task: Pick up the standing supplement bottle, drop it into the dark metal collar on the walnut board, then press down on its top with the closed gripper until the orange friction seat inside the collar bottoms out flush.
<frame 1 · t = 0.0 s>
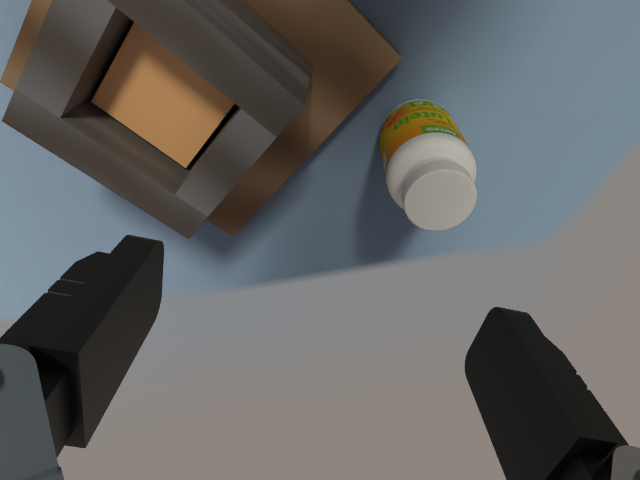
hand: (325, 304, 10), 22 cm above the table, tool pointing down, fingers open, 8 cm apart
press seat: (170, 93, 23), point 6 cm above the table, slide at 4.0 cm
supplement bottle: (414, 132, 31), on the table
collar block: (200, 64, 28), on the table
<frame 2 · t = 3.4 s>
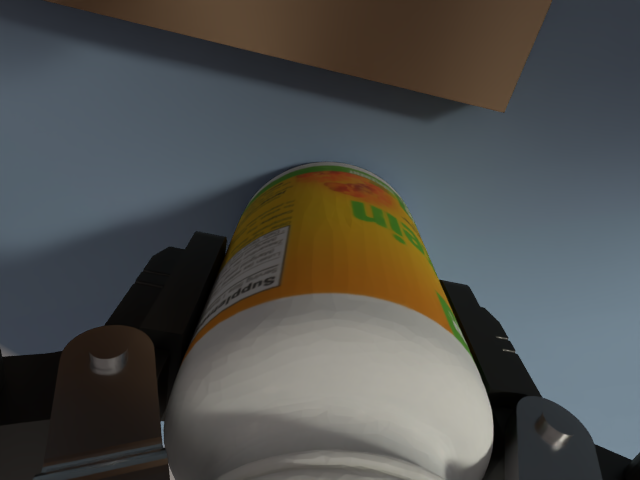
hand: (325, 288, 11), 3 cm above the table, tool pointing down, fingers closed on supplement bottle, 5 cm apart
supplement bottle: (326, 238, 13), on the table, touching gripper
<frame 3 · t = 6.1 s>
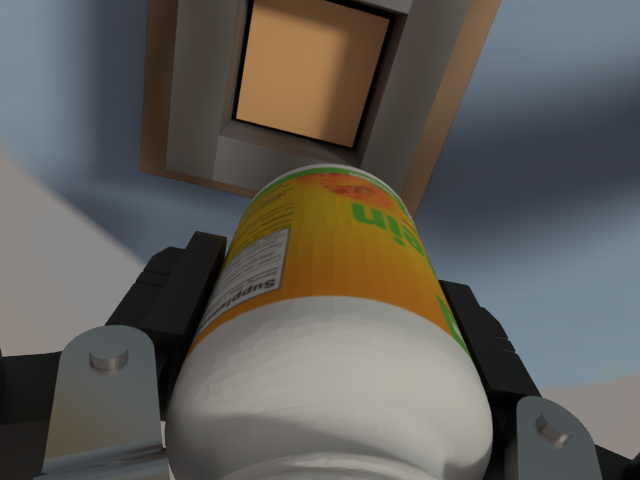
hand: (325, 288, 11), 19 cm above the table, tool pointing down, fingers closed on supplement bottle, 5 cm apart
press seat: (309, 69, 20), point 6 cm above the table, slide at 4.0 cm
supplement bottle: (326, 239, 13), point 17 cm above the table, touching gripper
collar block: (311, 57, 26), on the table
when the fingers open (11 cm above the table, at t = 8.9 s): supplement bottle drops 5 cm, resting on press seat.
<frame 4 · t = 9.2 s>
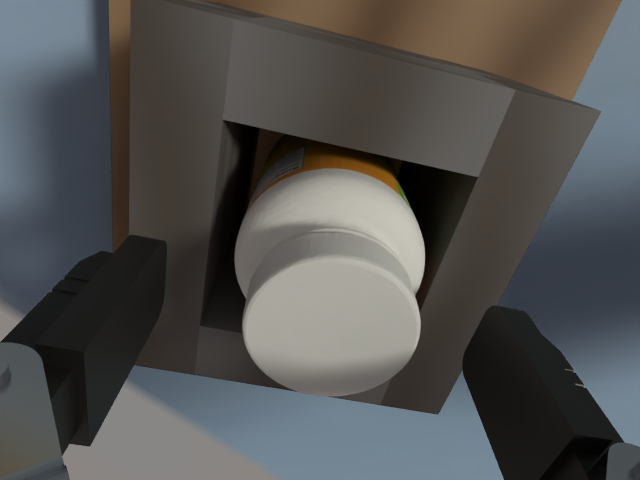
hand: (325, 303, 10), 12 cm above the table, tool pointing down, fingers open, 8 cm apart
press seat: (324, 173, 18), point 2 cm above the table, slide at -0.1 cm, touching supplement bottle, collar block
supplement bottle: (327, 178, 18), point 3 cm above the table, touching press seat
collar block: (324, 158, 20), on the table
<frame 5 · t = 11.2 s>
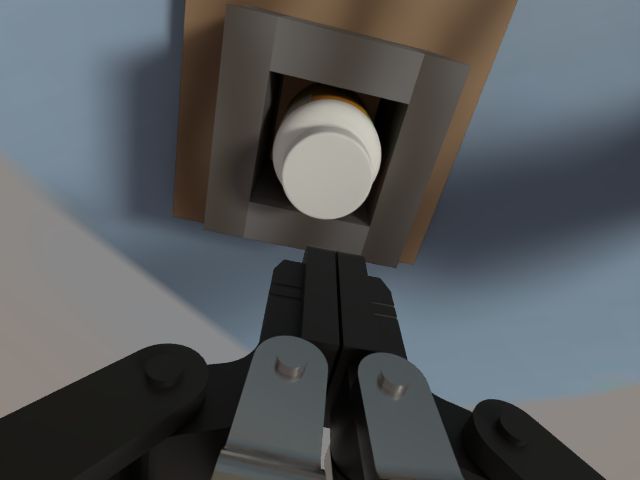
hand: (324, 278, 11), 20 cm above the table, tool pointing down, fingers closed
press seat: (324, 122, 27), point 2 cm above the table, slide at -0.1 cm, touching supplement bottle, collar block
supplement bottle: (326, 124, 26), point 3 cm above the table, touching press seat
collar block: (324, 114, 29), on the table
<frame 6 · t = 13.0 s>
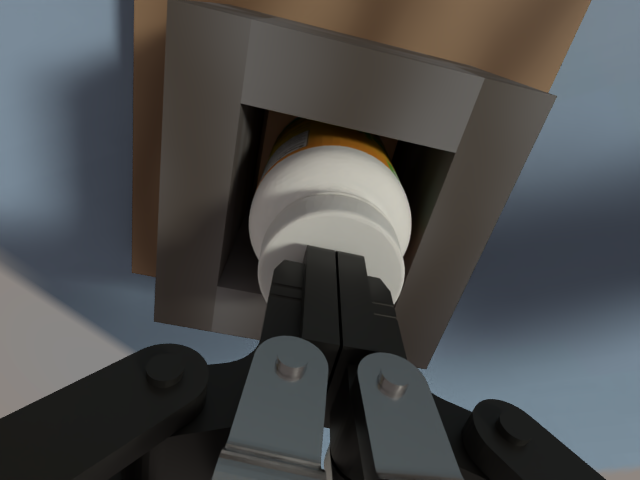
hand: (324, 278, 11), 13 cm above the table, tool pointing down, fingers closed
press seat: (325, 158, 20), point 2 cm above the table, slide at -0.1 cm, touching supplement bottle, collar block
supplement bottle: (328, 162, 20), point 3 cm above the table, touching gripper, press seat
collar block: (325, 146, 22), on the table
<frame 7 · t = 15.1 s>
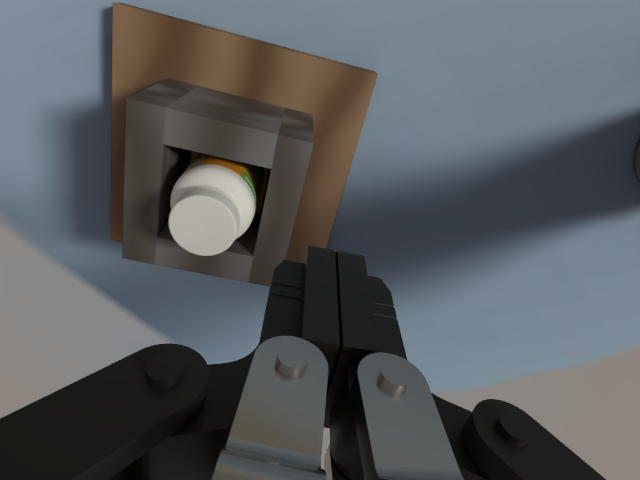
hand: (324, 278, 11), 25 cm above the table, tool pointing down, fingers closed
press seat: (230, 167, 33), point 2 cm above the table, slide at -0.1 cm, touching supplement bottle, collar block
supplement bottle: (231, 170, 33), point 3 cm above the table, touching press seat
collar block: (234, 158, 35), on the table
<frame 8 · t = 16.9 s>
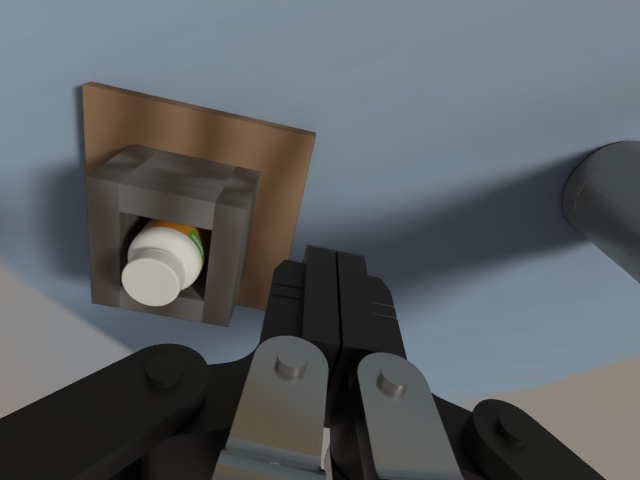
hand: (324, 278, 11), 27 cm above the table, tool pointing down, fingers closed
supplement bottle: (190, 220, 37), point 3 cm above the table, touching press seat
collar block: (197, 207, 40), on the table
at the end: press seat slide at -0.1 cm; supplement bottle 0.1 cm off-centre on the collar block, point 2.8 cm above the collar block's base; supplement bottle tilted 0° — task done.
